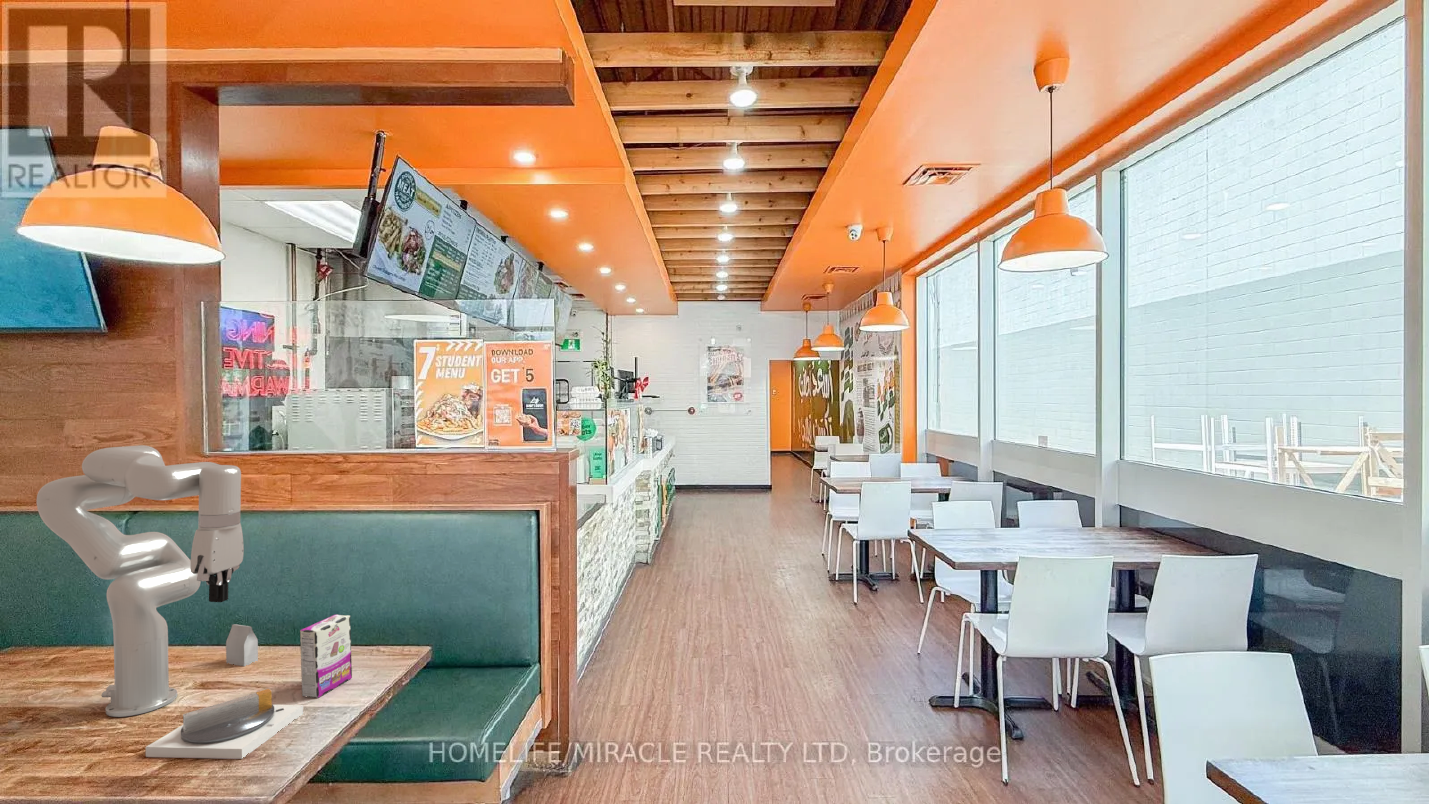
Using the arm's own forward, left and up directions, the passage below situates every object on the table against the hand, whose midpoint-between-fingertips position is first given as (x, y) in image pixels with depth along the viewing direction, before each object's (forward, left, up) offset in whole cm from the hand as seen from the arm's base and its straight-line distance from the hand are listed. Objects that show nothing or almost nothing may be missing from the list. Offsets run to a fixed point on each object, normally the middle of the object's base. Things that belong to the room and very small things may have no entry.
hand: (218, 600), depth 145 cm
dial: (+8, -8, -24) cm, 26 cm away
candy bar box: (+15, +14, -26) cm, 34 cm away
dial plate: (+8, -8, -26) cm, 29 cm away
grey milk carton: (-18, +28, -27) cm, 43 cm away
